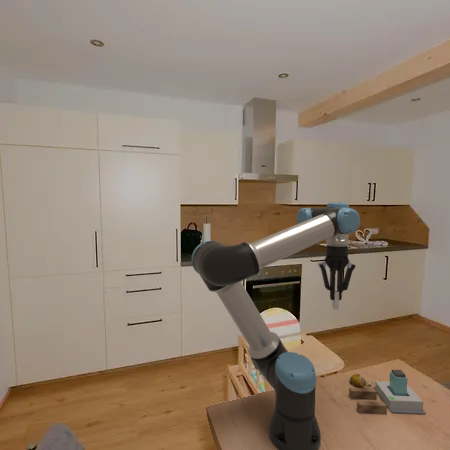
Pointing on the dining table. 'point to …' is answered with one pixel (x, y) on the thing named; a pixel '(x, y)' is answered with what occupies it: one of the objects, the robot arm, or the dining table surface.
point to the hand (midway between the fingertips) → (335, 308)
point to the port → (399, 400)
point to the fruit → (359, 381)
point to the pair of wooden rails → (367, 406)
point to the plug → (398, 383)
